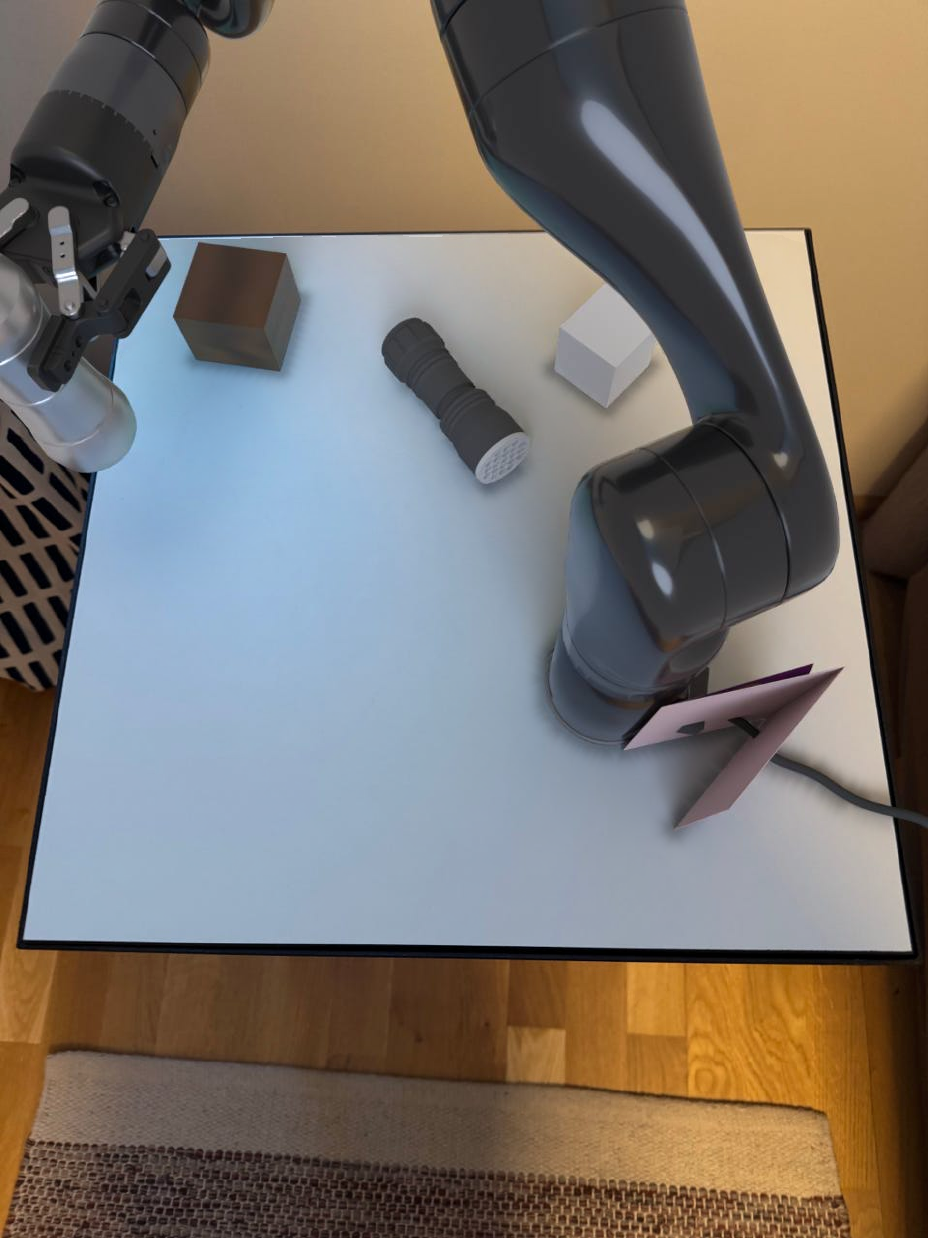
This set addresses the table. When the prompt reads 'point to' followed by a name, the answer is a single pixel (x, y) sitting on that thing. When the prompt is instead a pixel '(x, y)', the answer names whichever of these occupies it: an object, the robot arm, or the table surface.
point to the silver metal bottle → (82, 408)
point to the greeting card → (763, 698)
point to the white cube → (604, 346)
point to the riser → (238, 306)
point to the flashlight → (455, 401)
